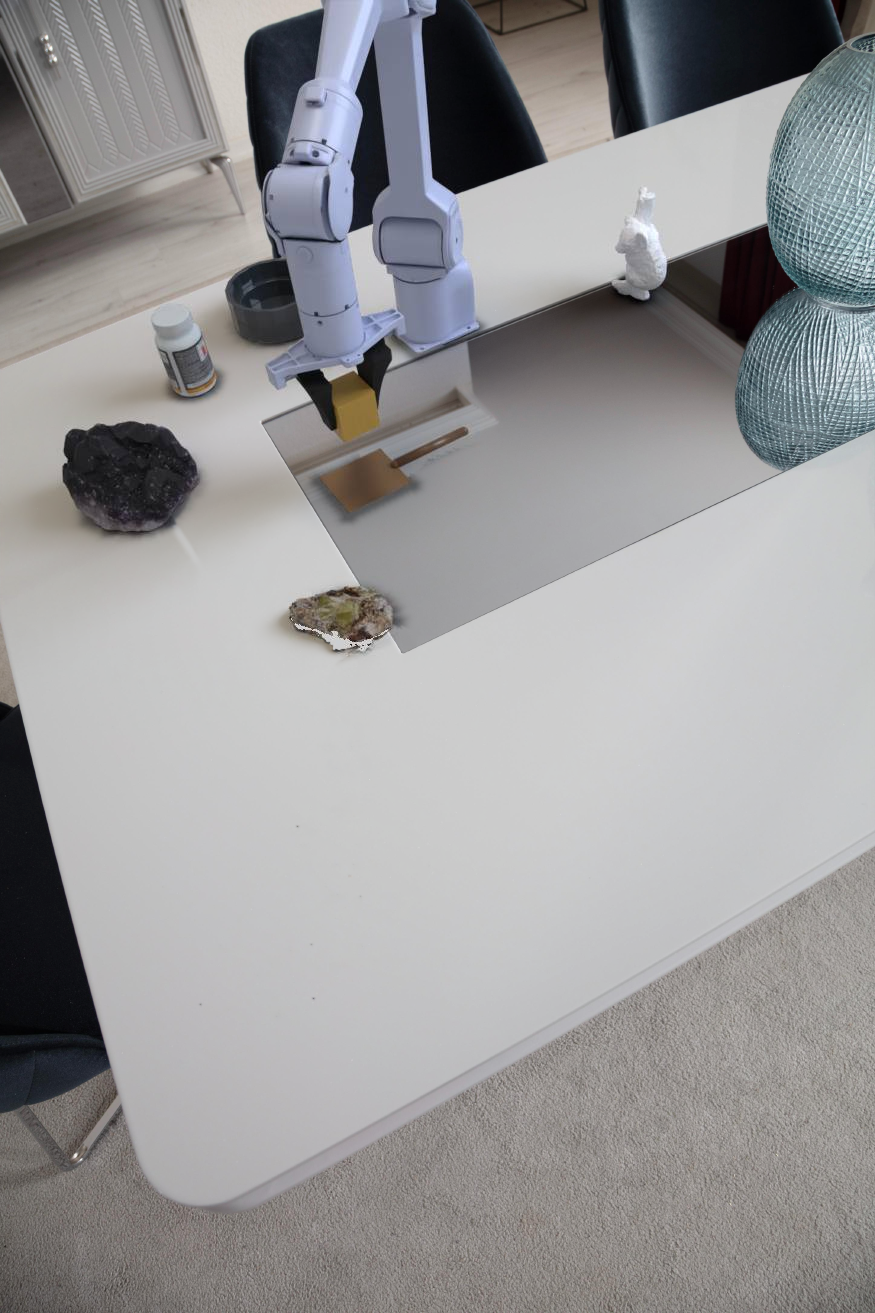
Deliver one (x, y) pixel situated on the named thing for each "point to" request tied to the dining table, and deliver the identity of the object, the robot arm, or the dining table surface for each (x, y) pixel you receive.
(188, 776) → the dining table surface
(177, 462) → the crystal cluster
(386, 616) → the mineral rock
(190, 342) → the pill bottle
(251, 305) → the grey round bowl
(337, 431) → the yellow cube block
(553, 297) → the dining table surface
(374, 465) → the wooden spatula
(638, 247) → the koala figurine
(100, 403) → the dining table surface
